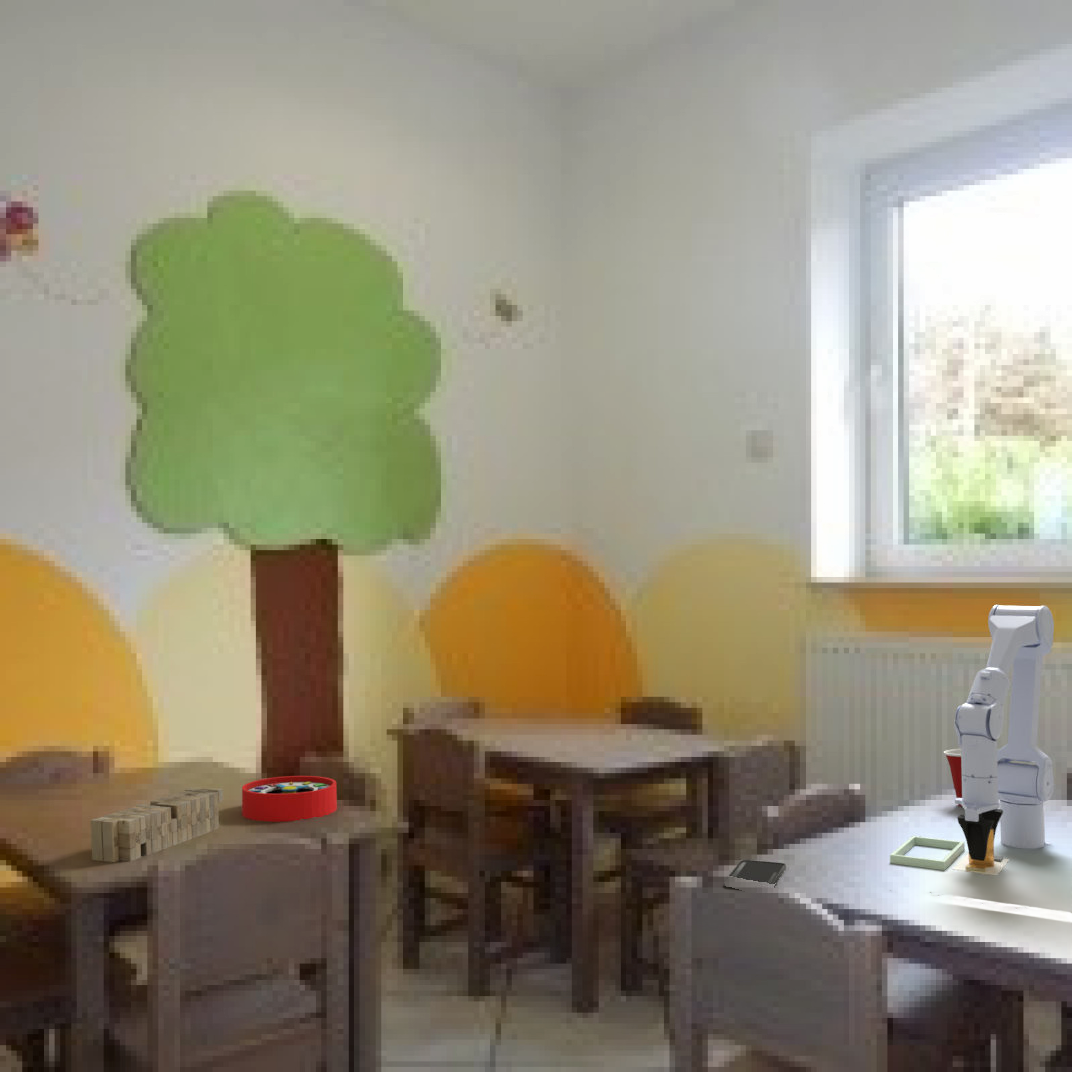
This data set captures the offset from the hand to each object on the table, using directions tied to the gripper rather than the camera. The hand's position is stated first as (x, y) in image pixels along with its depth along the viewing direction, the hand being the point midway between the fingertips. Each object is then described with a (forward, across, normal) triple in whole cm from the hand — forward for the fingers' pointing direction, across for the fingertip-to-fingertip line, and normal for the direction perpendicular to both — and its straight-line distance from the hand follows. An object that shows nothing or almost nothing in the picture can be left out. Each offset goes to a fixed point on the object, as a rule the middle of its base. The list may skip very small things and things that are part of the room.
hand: (981, 855), depth 191 cm
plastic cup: (+3, -51, -12) cm, 52 cm away
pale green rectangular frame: (+3, -1, -9) cm, 9 cm away
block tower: (+3, +56, -139) cm, 150 cm away
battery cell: (+1, 0, 0) cm, 1 cm away
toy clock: (+3, +24, -137) cm, 139 cm away
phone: (+3, +22, -32) cm, 39 cm away
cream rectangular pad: (+3, 0, 0) cm, 3 cm away
